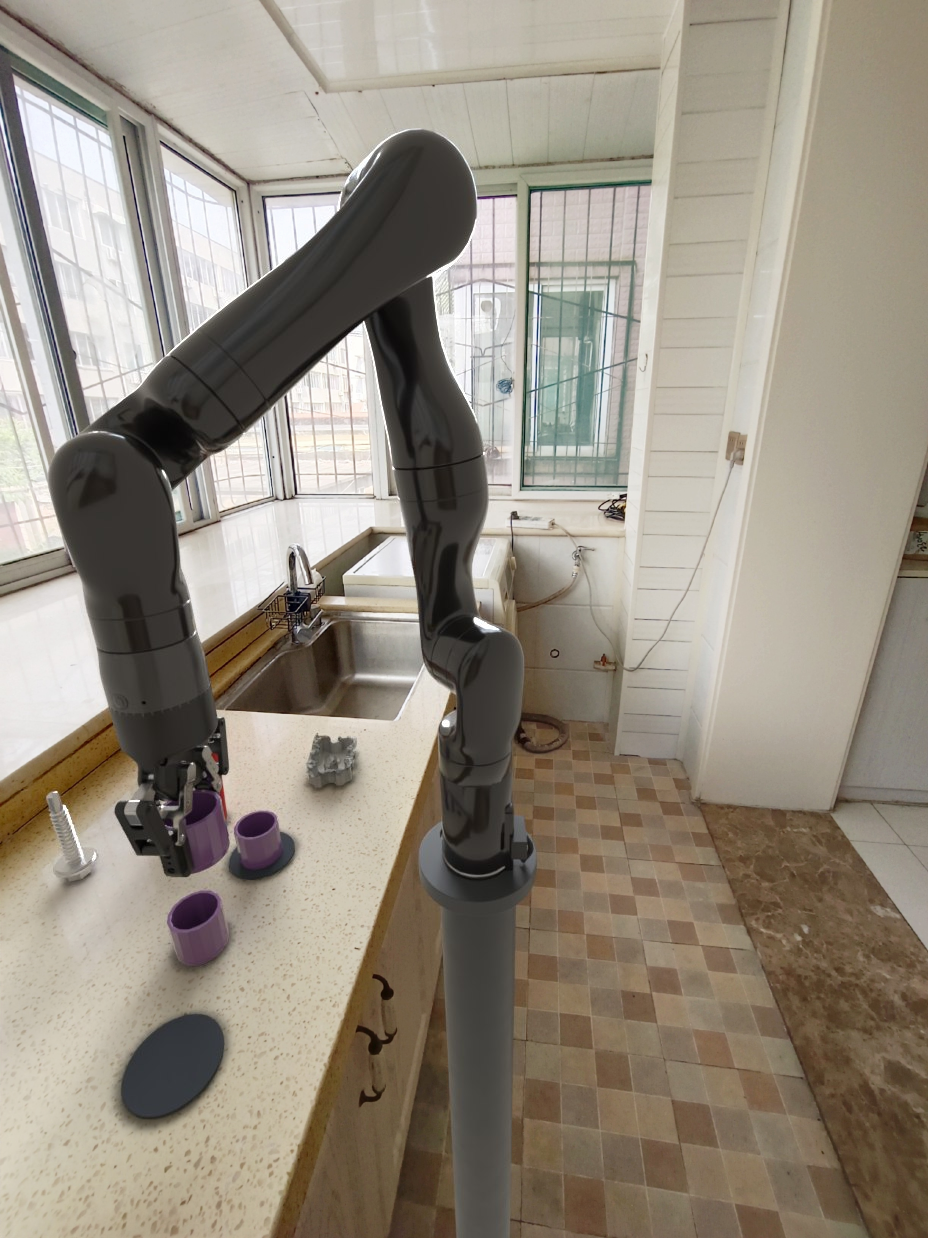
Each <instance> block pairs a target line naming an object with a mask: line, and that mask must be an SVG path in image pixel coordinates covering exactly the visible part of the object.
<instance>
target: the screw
mask: <svg viewBox="0 0 928 1238" xmlns="http://www.w3.org/2000/svg"><path fill="white" fill-rule="evenodd" d="M45 798H46V800H45V801H46V803H47V805H48V808H49V809H48V812H50V813H49V814H48V816H49V817H50V819H49V820H50V821H51V825H53V826H52V828H53V829H54V832H55V836H57V837H56V838H57V840H58V843H59V847H61V848H60V850H61V851H62V854H63V855H61V856H60V858H59V859H57V861H56V862H55V863H54V864H53V867H52V873H53V875H54V876H55V877H56V878H60V879H66V878H68V881H69V882H74V881H82V880H83V879H84V878H86V877H87V876H88V875H89V874H90V873H91V872H92V868H91V867H93V865H94V864H95V863H96V862H97V860H98V858H99V852H98V850H97V848H95V847H91V846H80V842H79V839H78V836H77V835H76V834H77V833H76V831H75V828H74V824H73V821H72V819H71V816H70V813H69V809H67V806H66V805H65V804H63V801H62V799H61V795H60V793H59V792H58V791H57V790H55V791H50V792H49V793H48V794H47V795H46V797H45Z"/></svg>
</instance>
